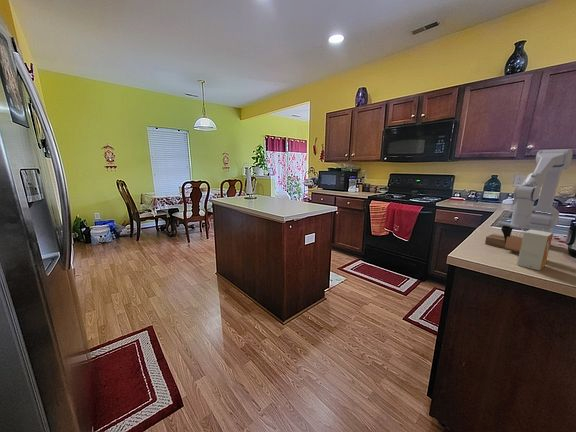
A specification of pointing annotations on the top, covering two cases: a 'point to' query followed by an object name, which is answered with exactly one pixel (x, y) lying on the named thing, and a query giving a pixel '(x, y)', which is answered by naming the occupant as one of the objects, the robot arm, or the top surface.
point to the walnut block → (496, 240)
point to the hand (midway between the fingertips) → (515, 245)
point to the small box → (534, 249)
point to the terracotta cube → (514, 242)
